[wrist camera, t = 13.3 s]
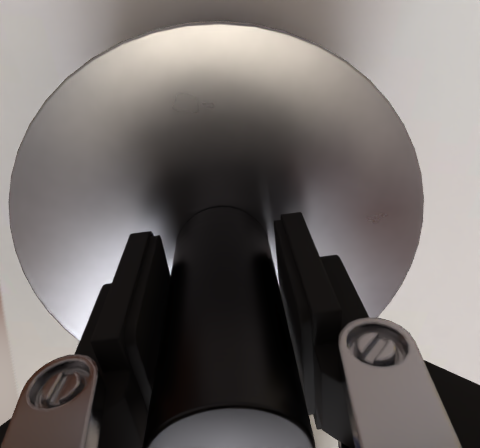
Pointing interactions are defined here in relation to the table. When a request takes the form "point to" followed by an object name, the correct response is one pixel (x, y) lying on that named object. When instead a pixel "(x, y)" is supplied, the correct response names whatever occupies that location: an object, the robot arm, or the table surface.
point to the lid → (215, 209)
